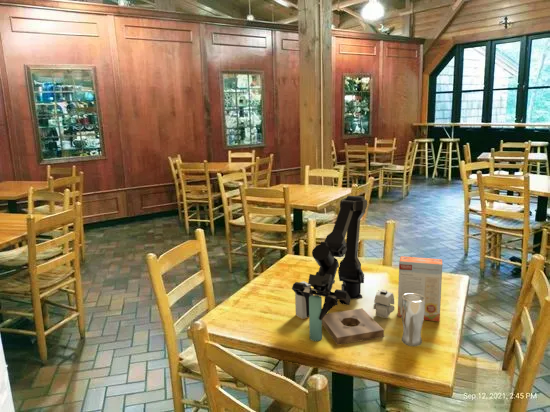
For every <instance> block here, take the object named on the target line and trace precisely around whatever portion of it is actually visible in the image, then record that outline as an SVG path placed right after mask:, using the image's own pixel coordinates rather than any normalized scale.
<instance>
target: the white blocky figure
mask: <svg viewBox="0 0 550 412" xmlns="http://www.w3.org/2000/svg"><path fill="white" fill-rule="evenodd" d="M394 305H395V296H394V293H393V292H390V291H388V290H385V289H381V290H377V292H376V294H375V297H374V304H373V309H374V310H375V315H376V317H381V318H384V319H387V318H389V316H390V315H391V313H392V312H394V311H395V306H394Z"/></svg>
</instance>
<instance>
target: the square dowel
mask: <svg viewBox="0 0 550 412" xmlns="http://www.w3.org/2000/svg"><path fill="white" fill-rule="evenodd" d="M299 283H305V284H306V285H307V287H308V288H312V286H311V284H308V282H306V280H305V281H304V280H303V281H300V282H299ZM294 294H295V295H294V297H295V299H294V300H295V315H296V316H297V317H298V318H300V319H302V320H304V319H307V318H308V317H307V315H306V300H305V297H304V296H299V295H297V294H296V293H295V292H294Z"/></svg>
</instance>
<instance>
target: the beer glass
mask: <svg viewBox="0 0 550 412" xmlns="http://www.w3.org/2000/svg"><path fill="white" fill-rule="evenodd" d="M401 315H402V317H401V320H402V327H403V328H402V329H403V331H402V337H401V342H402V343H403V344H404V345H405V346H407V347H408V346H409V347H418V346H421V345H422V344H423V339H422V328H423V324H424V321H425V320H424V315H425V298H424V296H422V295H420V294H417V293H406V294H404V295H403V296H402V305H401Z"/></svg>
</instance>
